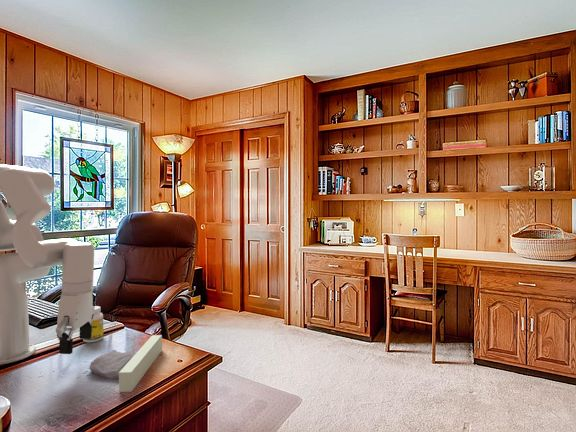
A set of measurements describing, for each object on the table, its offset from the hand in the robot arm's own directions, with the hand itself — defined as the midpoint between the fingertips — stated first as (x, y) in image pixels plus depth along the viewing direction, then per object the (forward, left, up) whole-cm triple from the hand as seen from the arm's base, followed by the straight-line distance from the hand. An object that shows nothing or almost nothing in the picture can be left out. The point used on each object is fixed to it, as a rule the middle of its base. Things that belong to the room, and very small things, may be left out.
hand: (76, 345), depth 98 cm
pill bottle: (-6, +21, -7) cm, 23 cm away
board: (+19, -1, -7) cm, 20 cm away
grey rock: (+11, -1, -7) cm, 13 cm away
